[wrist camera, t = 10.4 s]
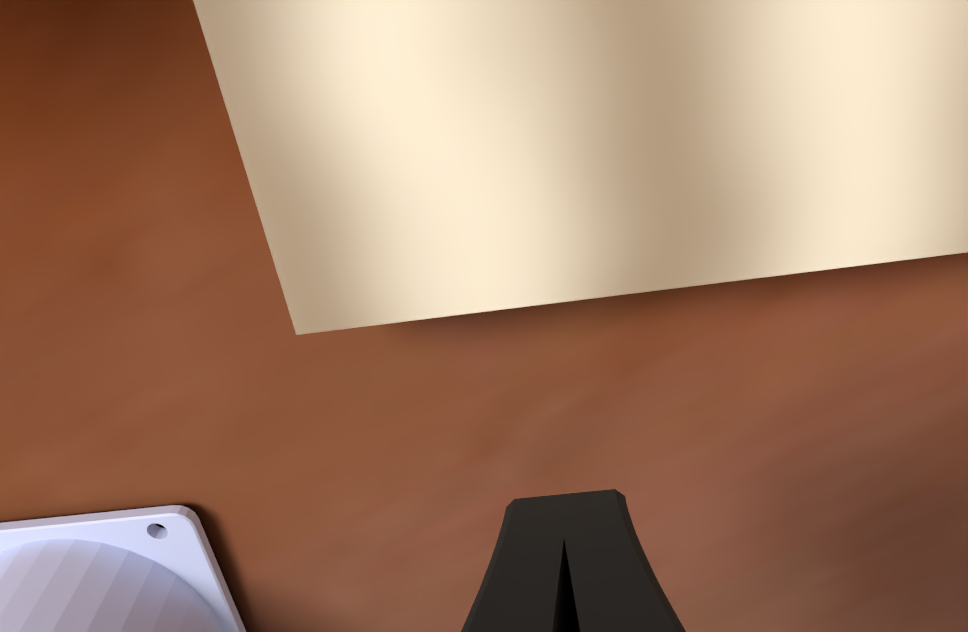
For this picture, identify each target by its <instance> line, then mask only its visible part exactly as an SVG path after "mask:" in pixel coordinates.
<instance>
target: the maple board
mask: <svg viewBox="0 0 968 632" xmlns="http://www.w3.org/2000/svg"><path fill="white" fill-rule="evenodd" d="M193 1H194V5H195V8H196V11H197V14H198V18H199V21H200V24H201V27H202V30H203V34H204V37H205V40H206V43H207V47H208V50H209V53H210V56H211V60H212V63H213V66H214V69H215V73H216V76H217V79H218V82H219V86H220V89H221V92H222V95H223V98H224V102H225V105H226V108H227V111H228V115H229V118H230V121H231V124H232V128H233V131H234V134H235V137H236V141H237V144H238V147H239V150H240V154H241V157H242V160H243V163H244V166H245V170H246V173H247V176H248V179H249V183H250V186H251V189H252V192H253V196H254V199H255V202H256V205H257V209H258V212H259V215H260V218H261V222H262V225H263V228H264V231H265V234H266V238H267V241H268V244H269V247H270V251H271V254H272V257H273V260H274V264H275V267H276V270H277V273H278V277H279V280H280V283H281V286H282V290H283V293H284V296H285V299H286V302H287V306H288V309H289V312H290V315H291V319H292V322H293V325H294V328H295V332H296V335H299V334H307V333H315V332H323V331H331V330H339V329H348V328H356V327H364V326H372V325H380V324H388V323H396V322H405V321H413V320H421V319H429V318H437V317H445V316H453V315H462V314H470V313H478V312H486V311H494V310H502V309H510V308H518V307H527V306H535V305H543V304H551V303H559V302H567V301H575V300H584V299H592V298H600V297H608V296H616V295H624V294H632V293H641V292H649V291H657V290H665V289H673V288H681V287H689V286H697V285H706V284H714V283H722V282H730V281H738V280H746V279H754V278H763V277H771V276H779V275H787V274H795V273H803V272H811V271H820V270H828V269H836V268H844V267H852V266H860V265H868V264H876V263H885V262H893V261H901V260H909V259H917V258H925V257H933V256H942V255H950V254H958V253H966V252H968V0H193Z"/></svg>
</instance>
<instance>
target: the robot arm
mask: <svg viewBox="0 0 968 632" xmlns="http://www.w3.org/2000/svg"><path fill="white" fill-rule="evenodd" d="M154 523H155V524H160V525H162V526H164V527H165V528H160V527H158V526H156V525H155V524H154ZM0 632H246V630H245V628H244V625H243V623H242V620H241V618H240V616H239V613H238V611H237V608H236V606H235V604H234V601H233V599H232V596H231V594H230V592H229V589H228V587H227V584H226V582H225V580H224V577H223V575H222V572H221V570H220V568H219V565H218V563H217V560H216V558H215V556H214V553H213V551H212V548H211V546H210V544H209V541H208V539H207V536H206V534H205V532H204V529H203V527H202V524H201V522H200V520H199V518H198V516H197V515H196V513H195V512H194V511H192V510H191V509H189V508H187V507H184V506H181V505H170V506H160V507H151V508H141V509H131V510H121V511H111V512H102V513H92V514H82V515H72V516H62V517H52V518H43V519H33V520H23V521H13V522H3V523H0ZM461 632H686V631H685V629H684V628H683V626H682V624H681V622H680V621H679V619H678V617H677V615H676V613H675V612H674V610H673V608H672V606H671V604H670V603H669V601H668V599H667V597H666V596H665V594H664V592H663V590H662V588H661V586H660V584H659V582H658V580H657V578H656V576H655V575H654V573H653V570H652V568H651V566H650V564H649V562H648V560H647V558H646V555H645V553H644V551H643V549H642V547H641V544H640V542H639V539H638V537H637V535H636V532H635V529H634V527H633V524H632V521H631V518H630V515H629V512H628V508H627V504H626V499H625V496H624V495H623V494H621V493H620V492H618V491H617V490H615V489H612V490H602V491H592V492H581V493H571V494H561V495H551V496H541V497H531V498H520V499H514V500H513V501H512V502H511V503H510V504H509V505H508V506H507V507H506V511H505V515H504V520H503V523H502V527H501V530H500V533H499V537H498V540H497V543H496V546H495V549H494V552H493V555H492V558H491V561H490V563H489V566H488V568H487V571H486V574H485V576H484V579H483V582H482V584H481V587H480V589H479V592H478V594H477V596H476V599H475V601H474V603H473V606H472V608H471V610H470V612H469V615H468V617H467V619H466V622H465V624H464V626H463V629H462V631H461Z"/></svg>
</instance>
